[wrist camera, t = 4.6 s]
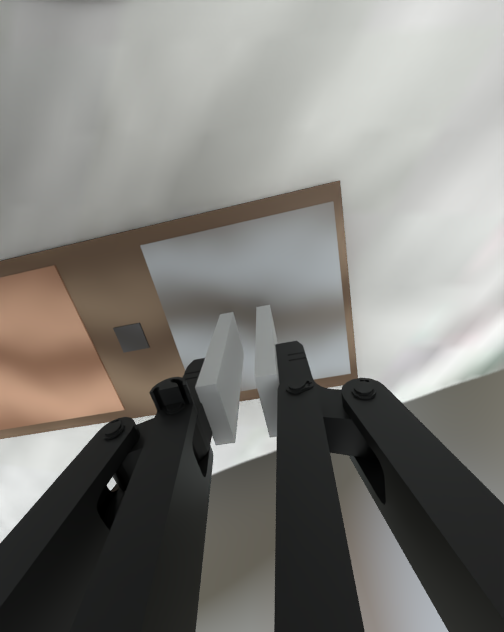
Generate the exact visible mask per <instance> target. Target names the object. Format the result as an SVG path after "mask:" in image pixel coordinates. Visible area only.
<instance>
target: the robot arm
mask: <svg viewBox="0 0 504 632" xmlns="http://www.w3.org/2000/svg"><path fill="white" fill-rule="evenodd" d="M243 359H244V351H243V347H242V344H241V340H240V336H239V332H238V328H237V325H236V321H235V317H234V313H233V312H230V313H225V314H220V316H219V319H218V322H217V325H216V328H215V331H214V334H213V336H212V339H211V342H210V345H209V348H208V351H207V354H206V357H205V358H201V359H195V360H193V361H192V362H191V363H190V364H189V365H188V366H187V368H186V370H185V373H184V375H183V377H171V378H168V379H165V380H163V381H161V382H159V383H158V384H156V385H155V386H154V387H153V388H152V389H151V391H150V392H149V393H150V395H151V398H152V400H153V402H154V404H155V407H156V409H157V413H156V416H155V418H153V419H150V420H148V421H145V422H143V423H140V424H137V425H136V424H135V422H134V420H133V419H132V418H130V417H122V418H118V419H115V420H113V421H111V422H109V423H108V424H106V425H105V426H104V427H103V428H101V429H100V430H99V431H98V432H97V433H96V435H95V436H94V437H93V438H92V439H91V440H90V441H89V443H88V444H87V445H86V446H85V447H84V448H83V450H82V451H81V452H80V453H79V454H78V455H77V456H76V458H75V459H74V460H73V461H72V462H71V463H70V464H69V466H68V467H67V468H66V469H65V470H64V471H63V472H62V474H61V475H60V476H59V477H58V478H57V479H56V480H55V482H54V483H53V484H52V485H51V486H50V487H49V488H48V490H47V491H46V492H45V493H44V494H43V495H42V496H41V498H40V499H39V500H38V501H37V502H36V503H35V504H34V506H33V507H32V508H31V509H30V510H29V511H28V513H27V514H26V515H25V516H24V517H23V518H22V519H21V521H20V522H19V523H18V524H17V525H16V526H15V527H14V529H13V530H12V531H11V532H10V533H9V534H8V535H7V537H6V538H5V539H4V540H3V541H2V542H1V543H0V632H195V629H196V620H197V610H198V601H199V590H200V582H201V572H202V562H203V552H204V543H205V533H206V523H207V513H208V503H209V494H210V484H211V474H212V465H213V451H212V449H211V446H210V442H211V437H212V436H213V439H214V441H215V444H216V445H221V444H228V443H234V442H235V439H236V429H237V419H238V409H239V399H240V389H241V379H242V369H243ZM255 381H256V385H257V389H258V393H259V397H260V401H261V405H262V409H263V412H264V416H265V420H266V424H267V428H268V432H269V436H270V437H276V436H277V470H276V471H277V472H276V550H275V551H276V553H275V554H276V555H275V629H274V630H275V631H274V632H364V626H363V622H362V617H361V611H360V606H359V601H358V596H357V591H356V585H355V581H354V575H353V570H352V565H351V560H350V554H349V550H348V544H347V539H346V534H345V528H344V523H343V518H342V513H341V508H340V503H339V498H338V492H337V487H336V482H335V477H334V472H333V467H332V462H331V456H330V453H337V454H343V455H349V456H350V459H351V461H352V462H353V464H354V466H355V468H356V469H357V471H358V473H359V475H360V477H361V478H362V480H363V482H364V483H365V485H366V487H367V489H368V491H369V492H370V494H371V496H372V498H373V499H374V501H375V503H376V505H377V506H378V508H379V510H380V512H381V513H382V515H383V517H384V519H385V520H386V522H387V524H388V526H389V527H390V529H391V531H392V533H393V534H394V536H395V538H396V540H397V542H398V543H399V545H400V547H401V549H402V550H403V552H404V554H405V556H406V557H407V559H408V561H409V563H410V564H411V566H412V568H413V570H414V571H415V573H416V575H417V577H418V578H419V580H420V582H421V584H422V586H423V587H424V589H425V591H426V593H427V594H428V596H429V598H430V599H431V601H432V603H433V605H434V606H435V608H436V610H437V612H438V614H439V615H440V617H441V619H442V621H443V622H444V624H445V626H446V628H447V629H448V631H449V632H504V505H503V503H502V502H501V501H500V500H499V499H498V498H496V496H495V495H493V493H491V491H490V490H489V489H488V488H486V486H485V485H483V483H482V482H480V481H479V479H478V478H477V477H476V476H475V475H474V474H473V473H471V471H470V470H468V469H467V468H466V467H465V466H464V465H463V464H462V463H461V462H460V461H459V460H458V459H457V458H456V457H455V456H454V455H453V454H452V453H451V452H450V451H449V450H448V449H447V448H446V447H445V446H444V445H443V444H442V443H441V442H440V441H439V440H438V439H437V438H436V437H435V436H434V435H433V434H432V433H431V432H430V431H429V430H428V429H427V428H426V427H425V426H424V425H423V424H422V423H421V422H420V421H419V420H418V419H417V418H416V417H415V416H414V415H413V414H412V413H411V412H410V411H409V410H408V409H407V408H406V407H405V406H404V405H403V404H402V403H401V402H400V401H399V400H398V399H397V398H396V397H395V396H394V395H393V394H392V393H391V392H390V391H389V390H388V389H387V388H386V387H385V386H384V385H383V384H381V383H380V382H378V381H376V380H373V379H369V378H357V379H352V380H350V381H348V382H346V383H345V384H344V385H343V386H342V390H335V389H327V388H324V387H322V386H320V385H318V384H317V383H316V382H315V381H314V379H313V377H312V374H311V370H310V367H309V364H308V360H307V357H306V354H305V350H304V347H303V345H302V344H301V343H299V342H298V341H291V342H286V343H280V344H278V342H277V337H276V332H275V327H274V322H273V318H272V313H271V308H270V305H265V306H260V307H256V341H255ZM112 477H113V478H114V480H115V481H116V483H117V484H116V485H115V487H114V488H113V489H112V490H111V491H110V490H109V489H108V487H107V486H106V485H107V484H108V482H109V481H110V479H111V478H112Z"/></svg>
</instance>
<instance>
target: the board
mask: <svg viewBox="0 0 504 632" xmlns="http://www.w3.org/2000/svg"><path fill="white" fill-rule="evenodd" d="M265 305H270V308H271V313H272V318H273V322H274V327H275V332H276V337H277V342H278V344H280V343H286V342H291V341H298V342H299V343H301V344H302V345H303V347H304V350H305V354H306V357H307V360H308V364H309V367H310V370H311V374H312V377H313V379H314V381H315V382H316V383H317V384H318V385H320V386H322V387H324V388H328V387H335V386H341V385H344V384H345V383H346V382H348V381H350V380H352V379H357V378H358V375H357V364H356V353H355V342H354V331H353V320H352V308H351V297H350V286H349V275H348V264H347V253H346V242H345V231H344V220H343V208H342V197H341V186H340V181H336V182H332V183H328V184H323V185H319V186H315V187H311V188H306V189H302V190H298V191H294V192H290V193H285V194H281V195H277V196H273V197H269V198H264V199H260V200H256V201H252V202H247V203H243V204H239V205H235V206H231V207H226V208H222V209H218V210H214V211H209V212H205V213H201V214H197V215H193V216H188V217H184V218H180V219H176V220H172V221H167V222H163V223H159V224H155V225H150V226H146V227H142V228H138V229H134V230H129V231H125V232H121V233H117V234H112V235H108V236H104V237H100V238H96V239H91V240H87V241H83V242H79V243H74V244H70V245H66V246H62V247H58V248H53V249H49V250H45V251H41V252H37V253H32V254H28V255H24V256H20V257H15V258H11V259H7V260H3V261H0V439H4V438H10V437H17V436H23V435H29V434H36V433H42V432H48V431H55V430H61V429H67V428H74V427H80V426H86V425H93V424H99V423H106V422H111V421H113V420H115V419H118V418H122V417H130V418H137V417H144V416H150V415H156V413H157V409H156V407H155V404H154V402H153V400H152V398H151V395H150V393H149V392H150V391H151V389H152V388H153V387H154V386H155V385H156V384H158V383H159V382H161V381H163V380H165V379H168V378H171V377H183V375H184V373H185V370H186V368H187V366H188V365H189V364H190V363H191V362H192V361H193V360H195V359H201V358H205V357H206V354H207V351H208V348H209V345H210V342H211V339H212V336H213V334H214V331H215V328H216V325H217V322H218V319H219V316H220V314H225V313H230V312H233V313H234V317H235V321H236V325H237V328H238V332H239V336H240V340H241V344H242V347H243V351H244V359H243V369H242V379H241V389H240V399H239V401H245V400H252V399H258V398H260V397H259V393H258V389H257V385H256V381H255V341H256V307H260V306H265Z"/></svg>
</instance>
